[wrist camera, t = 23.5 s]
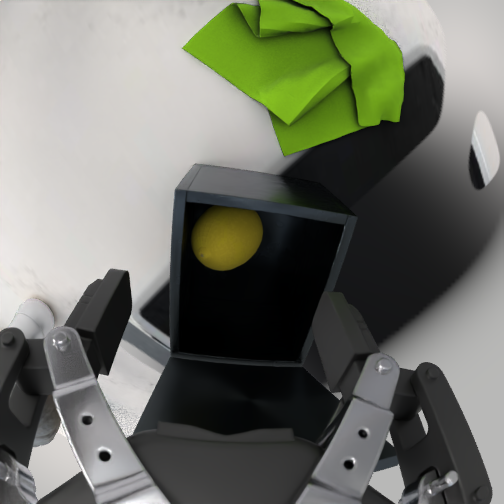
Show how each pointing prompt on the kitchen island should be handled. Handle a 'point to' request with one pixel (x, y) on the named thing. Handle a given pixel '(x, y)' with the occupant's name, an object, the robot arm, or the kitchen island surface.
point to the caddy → (255, 268)
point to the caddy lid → (244, 401)
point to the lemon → (226, 237)
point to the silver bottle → (33, 319)
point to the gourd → (47, 423)
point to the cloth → (306, 66)
